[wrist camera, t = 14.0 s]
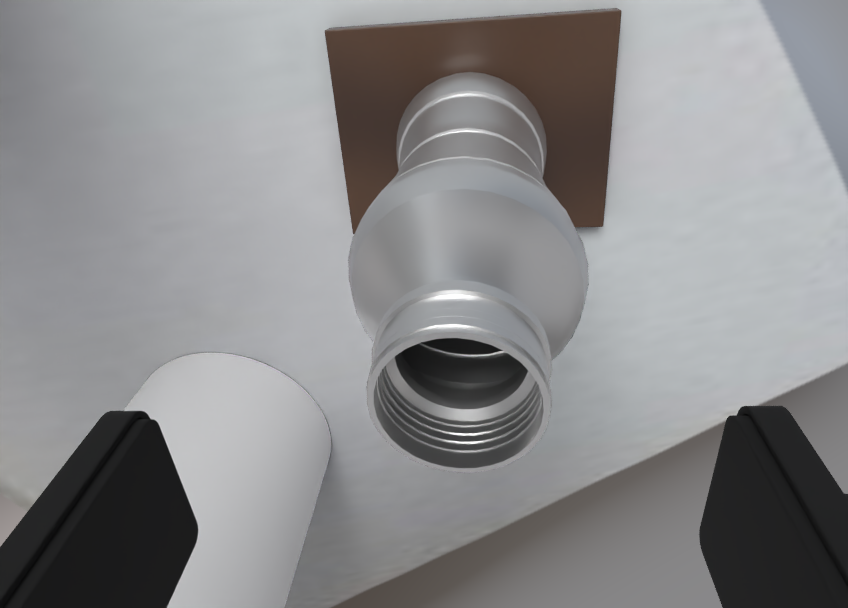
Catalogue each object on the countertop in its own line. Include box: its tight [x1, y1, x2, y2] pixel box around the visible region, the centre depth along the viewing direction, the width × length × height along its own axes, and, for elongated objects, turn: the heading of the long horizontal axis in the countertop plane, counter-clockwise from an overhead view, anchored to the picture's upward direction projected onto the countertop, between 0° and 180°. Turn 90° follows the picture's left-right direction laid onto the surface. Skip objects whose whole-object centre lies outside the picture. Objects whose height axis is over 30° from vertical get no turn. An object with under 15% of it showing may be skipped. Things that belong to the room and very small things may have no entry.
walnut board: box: [325, 8, 621, 234], centre depth 29 cm, size 10×13×1 cm
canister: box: [123, 353, 331, 608], centre depth 33 cm, size 14×14×20 cm
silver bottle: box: [348, 72, 589, 473], centre depth 20 cm, size 6×7×20 cm
